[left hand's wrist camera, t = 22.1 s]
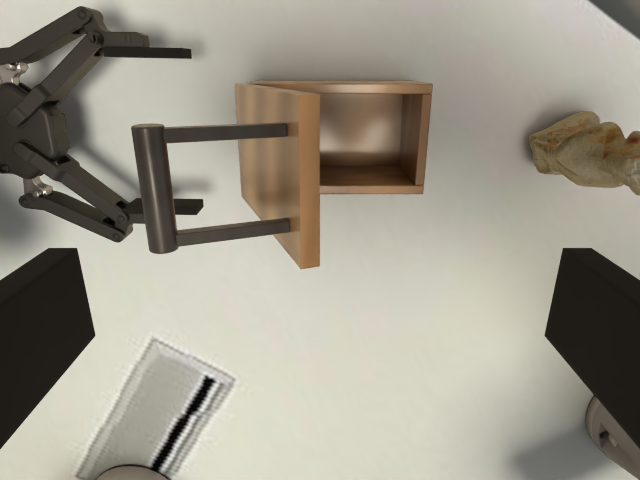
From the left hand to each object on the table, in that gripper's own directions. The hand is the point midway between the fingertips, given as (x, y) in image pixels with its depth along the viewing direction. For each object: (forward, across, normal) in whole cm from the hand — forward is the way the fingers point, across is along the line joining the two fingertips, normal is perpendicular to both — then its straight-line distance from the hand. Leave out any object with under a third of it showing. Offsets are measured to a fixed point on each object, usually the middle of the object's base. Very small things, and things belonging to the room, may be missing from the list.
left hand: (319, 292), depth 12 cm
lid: (+19, +3, 0) cm, 19 cm away
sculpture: (+36, -25, +1) cm, 44 cm away
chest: (+36, -1, 0) cm, 37 cm away
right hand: (+30, +11, 0) cm, 32 cm away
